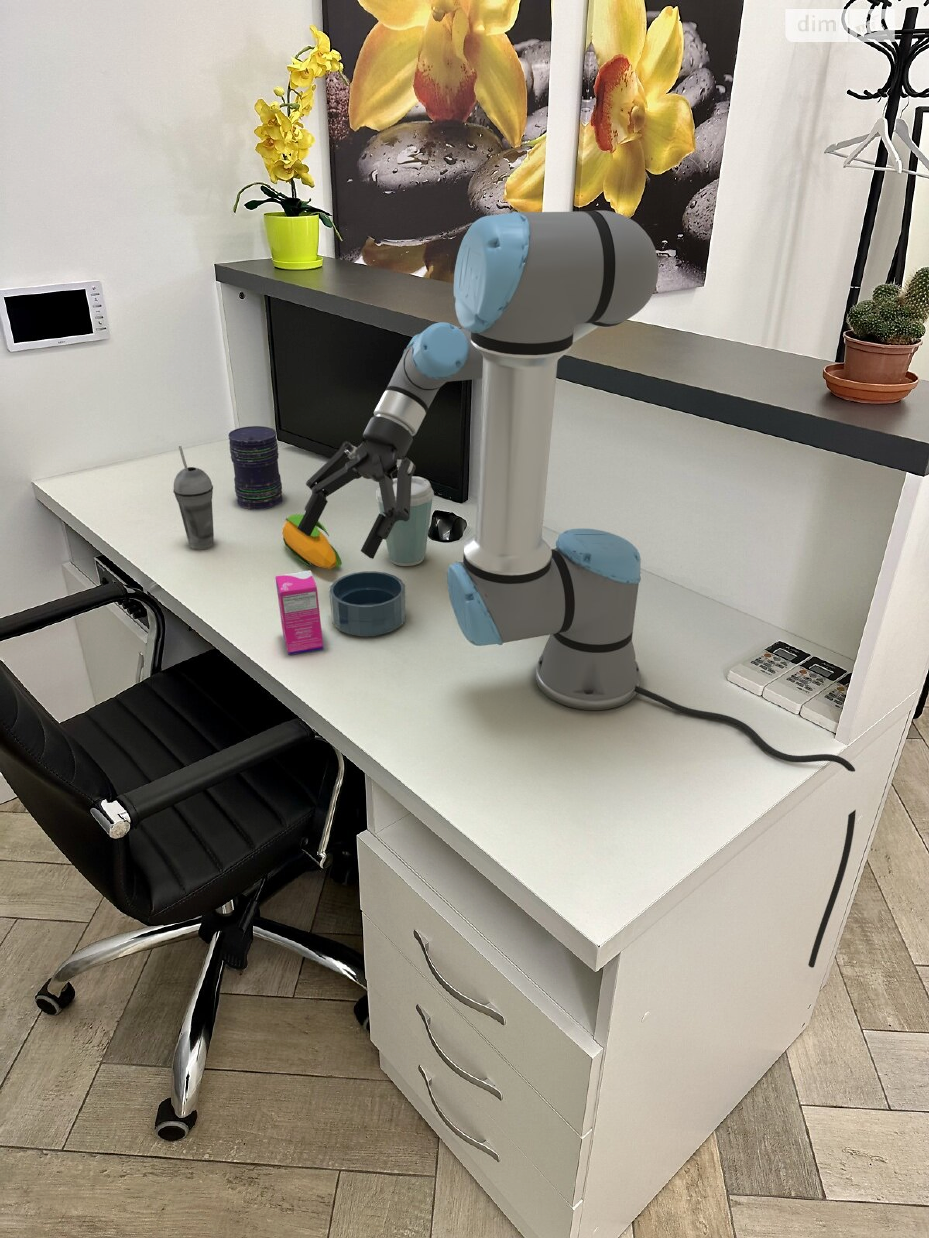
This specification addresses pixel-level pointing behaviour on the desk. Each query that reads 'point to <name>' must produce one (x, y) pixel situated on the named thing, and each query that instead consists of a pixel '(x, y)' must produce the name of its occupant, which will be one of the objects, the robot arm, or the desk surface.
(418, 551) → the disposable coffee cup
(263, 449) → the storage jar
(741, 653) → the desk surface
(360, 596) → the bowl
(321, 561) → the corn
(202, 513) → the beverage cup
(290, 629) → the supplement box
